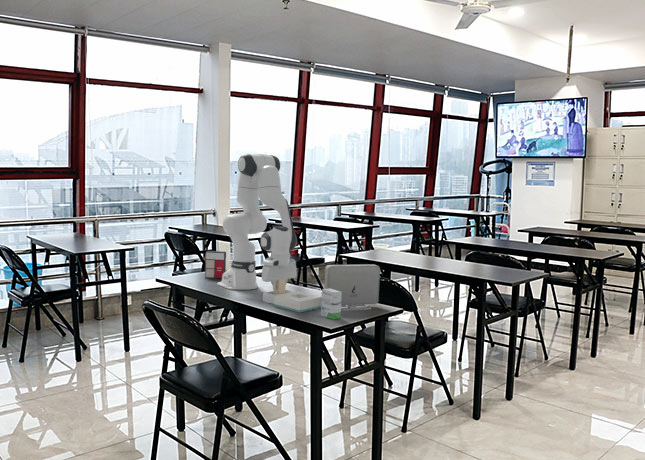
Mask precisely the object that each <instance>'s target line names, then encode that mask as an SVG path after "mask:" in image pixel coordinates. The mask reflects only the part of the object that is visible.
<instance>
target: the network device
mask: <svg viewBox="0 0 645 460" xmlns="http://www.w3.org/2000/svg"><path fill="white" fill-rule="evenodd" d="M380 275H381V268H380V266H379V265H376V264H373V263H372V264H368V263H367V264H366V263H365V264H328V265H326V266H325V268H324V288H323V289H334V290H337V291H340V292H342V295H341V307H345V308H341V312H342V311H343V312H344V311H362V310H363V311H364V310H365V311H366V310H367V311H369V310H372V306H371V305H377V304H378V303H379V300H380V299H379V295H380V278H381V277H380ZM362 306H363V307H362Z"/></svg>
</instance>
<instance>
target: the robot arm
mask: <svg viewBox="0 0 645 460" xmlns="http://www.w3.org/2000/svg"><path fill="white" fill-rule="evenodd" d="M237 169H238V171H239V173H240V174H239V176H238V181H237V190H236V191H237V193H236V202H237V203H238V204H239V206H242V210H243V213H232V214H229V215H226V216H225V217H224V219H223V221H222V228H223V231H224V232H225V233H226V234H227V235H228V236H229V238H230V241H231V242H232V246H233V260H231V261H230V262H229V263H231V265H230V268H229V269H227V270H226V272H225V273H223V276H222V279H221V281H217V282H216V283H217V284H216V285H217V286H220V287H222V288H225V289H227V290H241V291H243V290H246V291H247V290H254V289H257V288H258V285H259V284H258V282H257V271H256V265H257V263H256V247H255V245H254V244H253V242H251V241H250V240H249V235H256V234H259V233H260V234H261V233H262V232H263V233H262V234H261V236H260V239H259V241H260V242H259V243H260V247H261V248H262V250H263V251H266V252H271V254H270V256H269V257H266V258H265V259H263V261H262V265H263V266H262V269H261V279H262V282H266V283H269V282H270V284H271V285H272V291H273V290H277V289H278V286H276V284H275V283H276V281H277V280H282V279H286V281H285V289H286V285H287V284H288V280H290V279H295V278H297V276H298V275H297V273H298V272H297V265H296V264H297V263H296V260H295V259H294V258H290V257H291V256H290V255H291V252H292V251H293V250H294V249H295V248H296V247H297V245H298V237H297V234H296V231H295V228H294V224H293V218H292V214H291V213H292V212H291V209H290V205H289V202H288V200H287V199H286V198H285V197H284V195H283V192H282V187H281V179H280V173H279V172H280V169H281V161H280V159H279V158H278V157H277V156H276V155H272V154H265V153H253V154H252V153H245V154H241V156H240V157H239V158H238V162H237ZM259 200H260V202H261V203H262V205H265V206H266V207H268V208H271V209H273V210H275V211H276V212H277V213H278V214H279V216H280V220H281V225H275V226H273V227H272V229H271V230H268V231H265V230H266V229H267V225H268V221H267V217H266V216H265V215H264V214H263V213H262V211H261V210H260V209H261V208H260V204H259V203H260V202H259Z"/></svg>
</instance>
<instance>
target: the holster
mask: <svg viewBox="0 0 645 460" xmlns="http://www.w3.org/2000/svg"><path fill="white" fill-rule="evenodd" d="M291 292H295V291H294V290H289V289H286V288H285V293H291ZM285 293H283V294H285ZM277 295H279V294H277ZM274 297H275V295H273V290H272V291H267V292H265V291H264V292H262V302H265V303H268V304H269V303H270V304H273V305H274Z"/></svg>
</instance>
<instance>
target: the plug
mask: <svg viewBox="0 0 645 460" xmlns="http://www.w3.org/2000/svg"><path fill="white" fill-rule="evenodd" d="M285 281H286V279H282V280H277V281H276V283H275V284H276V286H278V289H277V290H273V289H272V291H273V295H277V294H283V293H285V289H286V288H285Z"/></svg>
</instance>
